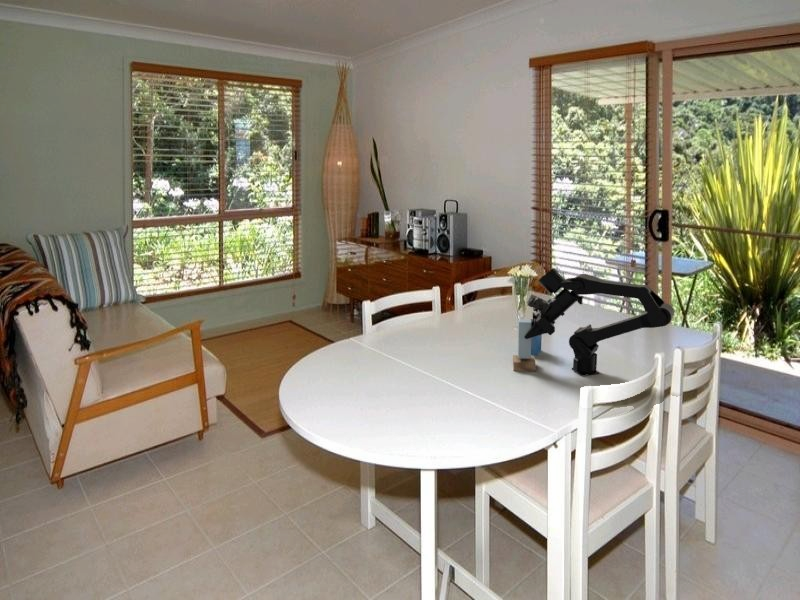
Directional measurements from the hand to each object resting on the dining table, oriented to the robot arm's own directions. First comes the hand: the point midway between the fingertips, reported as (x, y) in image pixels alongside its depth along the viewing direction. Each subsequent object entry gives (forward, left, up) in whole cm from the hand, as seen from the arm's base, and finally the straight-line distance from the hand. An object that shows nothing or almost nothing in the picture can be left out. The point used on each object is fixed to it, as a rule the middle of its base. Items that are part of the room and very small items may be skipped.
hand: (524, 336), depth 187 cm
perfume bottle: (-9, -14, -11) cm, 20 cm away
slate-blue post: (0, 0, -7) cm, 7 cm away
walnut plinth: (0, 0, -11) cm, 11 cm away
